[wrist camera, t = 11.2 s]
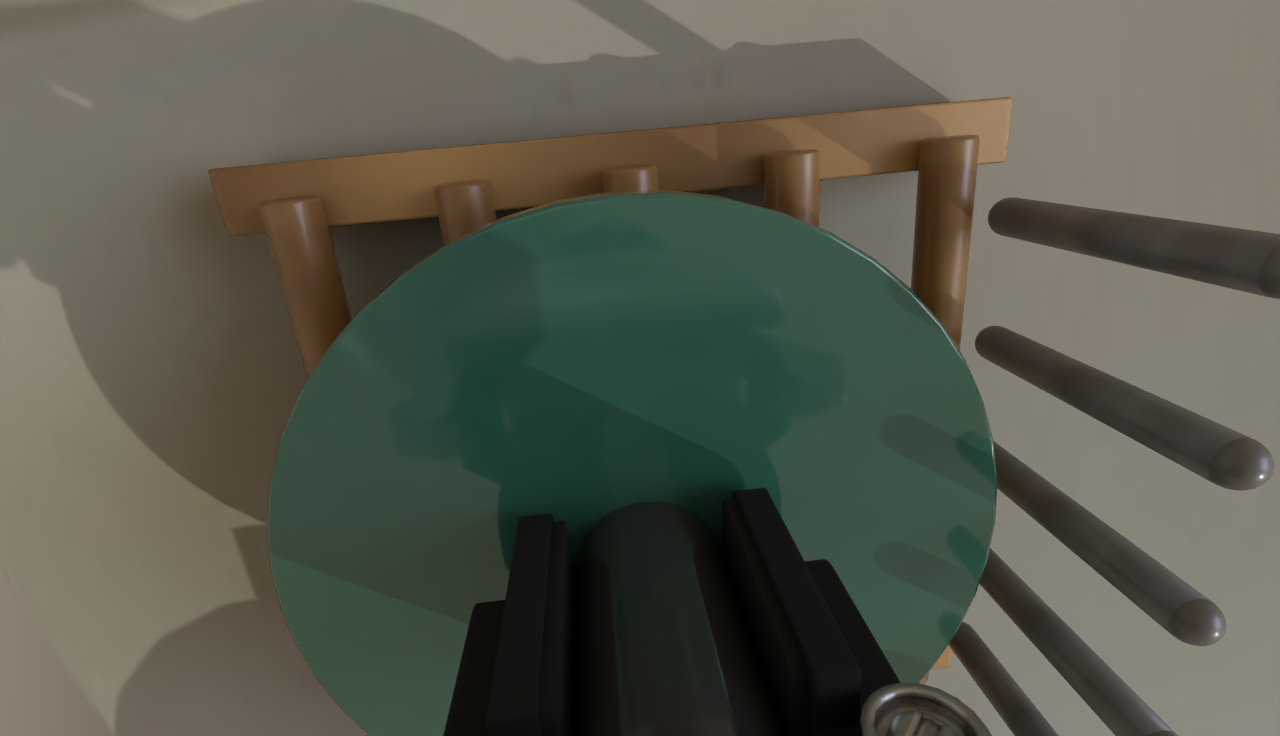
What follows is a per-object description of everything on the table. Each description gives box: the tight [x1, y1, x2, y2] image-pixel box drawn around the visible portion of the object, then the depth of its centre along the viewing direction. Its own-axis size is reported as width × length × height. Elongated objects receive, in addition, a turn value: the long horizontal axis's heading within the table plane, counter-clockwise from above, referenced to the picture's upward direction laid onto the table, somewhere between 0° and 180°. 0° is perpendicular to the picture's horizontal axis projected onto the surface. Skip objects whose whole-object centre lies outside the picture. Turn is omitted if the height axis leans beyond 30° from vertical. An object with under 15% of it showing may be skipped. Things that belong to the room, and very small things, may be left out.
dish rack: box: [209, 97, 1280, 736], centre depth 12 cm, size 15×14×8 cm
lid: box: [267, 190, 997, 736], centre depth 9 cm, size 13×13×6 cm
